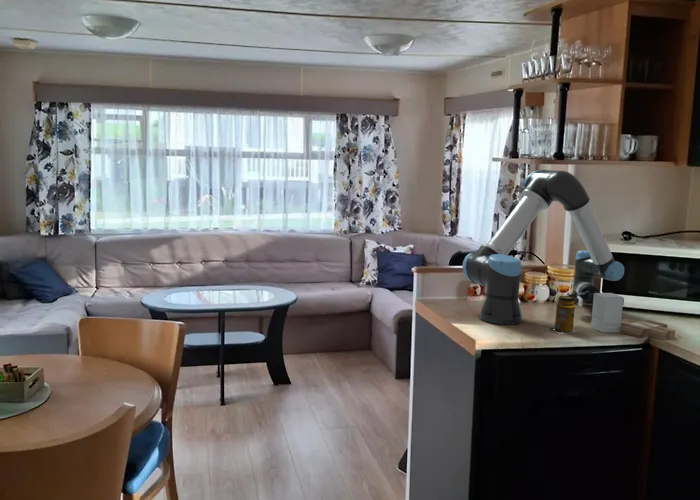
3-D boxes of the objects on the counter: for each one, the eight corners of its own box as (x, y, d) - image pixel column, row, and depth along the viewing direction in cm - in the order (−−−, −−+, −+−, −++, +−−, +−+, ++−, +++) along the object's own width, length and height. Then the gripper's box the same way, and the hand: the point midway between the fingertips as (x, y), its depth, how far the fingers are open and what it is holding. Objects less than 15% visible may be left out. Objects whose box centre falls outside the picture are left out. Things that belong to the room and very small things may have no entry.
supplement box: (621, 332, 226) (624, 296, 224) (601, 332, 225) (604, 297, 223) (609, 327, 233) (612, 292, 232) (590, 327, 232) (593, 292, 230)
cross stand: (655, 342, 215) (656, 334, 214) (606, 329, 229) (606, 322, 229) (682, 335, 226) (683, 327, 225) (633, 323, 240) (634, 316, 239)
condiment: (578, 332, 225) (581, 298, 223) (562, 334, 220) (565, 300, 218) (561, 327, 231) (563, 294, 229) (545, 329, 226) (547, 296, 224)
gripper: (619, 304, 257) (635, 316, 236) (554, 300, 261) (564, 312, 240) (621, 285, 256) (637, 296, 235) (556, 281, 260) (566, 292, 239)
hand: (600, 304), depth 238 cm, fingers open, 13 cm apart
